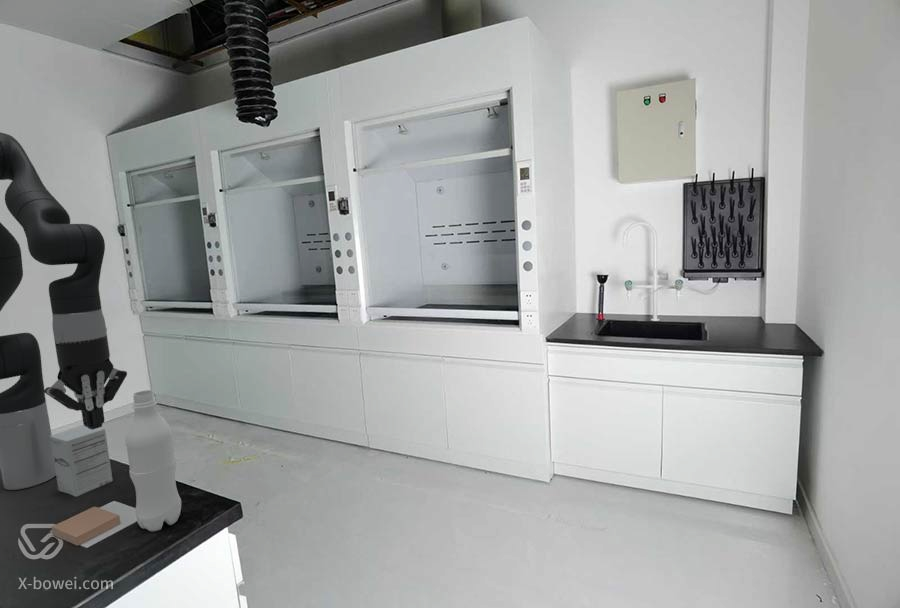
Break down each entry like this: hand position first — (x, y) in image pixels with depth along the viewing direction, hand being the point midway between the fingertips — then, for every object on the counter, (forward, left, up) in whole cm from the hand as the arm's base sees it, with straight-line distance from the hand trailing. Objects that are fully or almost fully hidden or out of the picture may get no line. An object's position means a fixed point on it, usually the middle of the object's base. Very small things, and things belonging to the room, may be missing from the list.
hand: (94, 427), depth 89 cm
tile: (+1, -1, -17) cm, 17 cm away
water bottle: (+12, +3, -18) cm, 22 cm away
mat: (+1, -2, -18) cm, 18 cm away
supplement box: (-18, +5, -18) cm, 26 cm away
